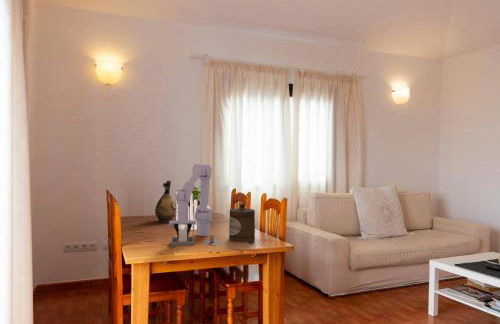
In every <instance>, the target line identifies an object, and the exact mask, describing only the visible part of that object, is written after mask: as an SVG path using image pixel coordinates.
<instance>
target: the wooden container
mask: <svg viewBox="0 0 500 324" xmlns="http://www.w3.org/2000/svg"><path fill="white" fill-rule="evenodd" d="M255 215H256V211H255V209H253V208H246V204H245V203H244V202H243V203H240V204H239V207H238V208H231V209H229V226H228V227H229V228H228V229H229V230H228V231H229V232H228V234H229V237H228V239H229V241H231V242H236V243H248V244H253V243H255V242H256V241H255V240H256V220H255V219H256V218H255Z"/></svg>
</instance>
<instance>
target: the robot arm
mask: <svg viewBox="0 0 500 324" xmlns="http://www.w3.org/2000/svg"><path fill="white" fill-rule="evenodd" d="M191 169H192V173H191V175H190V177H189V180H188V181H187V180H186V181H185V183H184V184H183V186H182V188H181V190H179V191H177V192H176V194H175V200H176V205H177V220H172V221H169V222H168V225H169V226H173V228H174V230H175V232H176V236H177V238H179V229H180V228H179V226H180V225H181V226H182V225H186V229H187V238H188V237H189V235H190V231H191V229H192V227H193V225H197V233H195V235H196V236H201V237H207V236H210V235H211V233H210V228H211V227H210V225H211V222H212V221H213V218H214V214H213V208H211V206H209V196H210V195H209V194H210V179H211V178H212V171H213V168H212V167H211V165H210V164H203V163H201V164H200V163H195V164H194V165H193V166H192V168H191ZM199 179H200V193H199V206H197V208H196V209H195V212H194V219H195V220H192V219H191V220H190V219H189V203H190V201H191V199H192V198H191V197H192V192H193V191H194V189H195V183H196V182H197V181H198V180H199Z"/></svg>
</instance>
